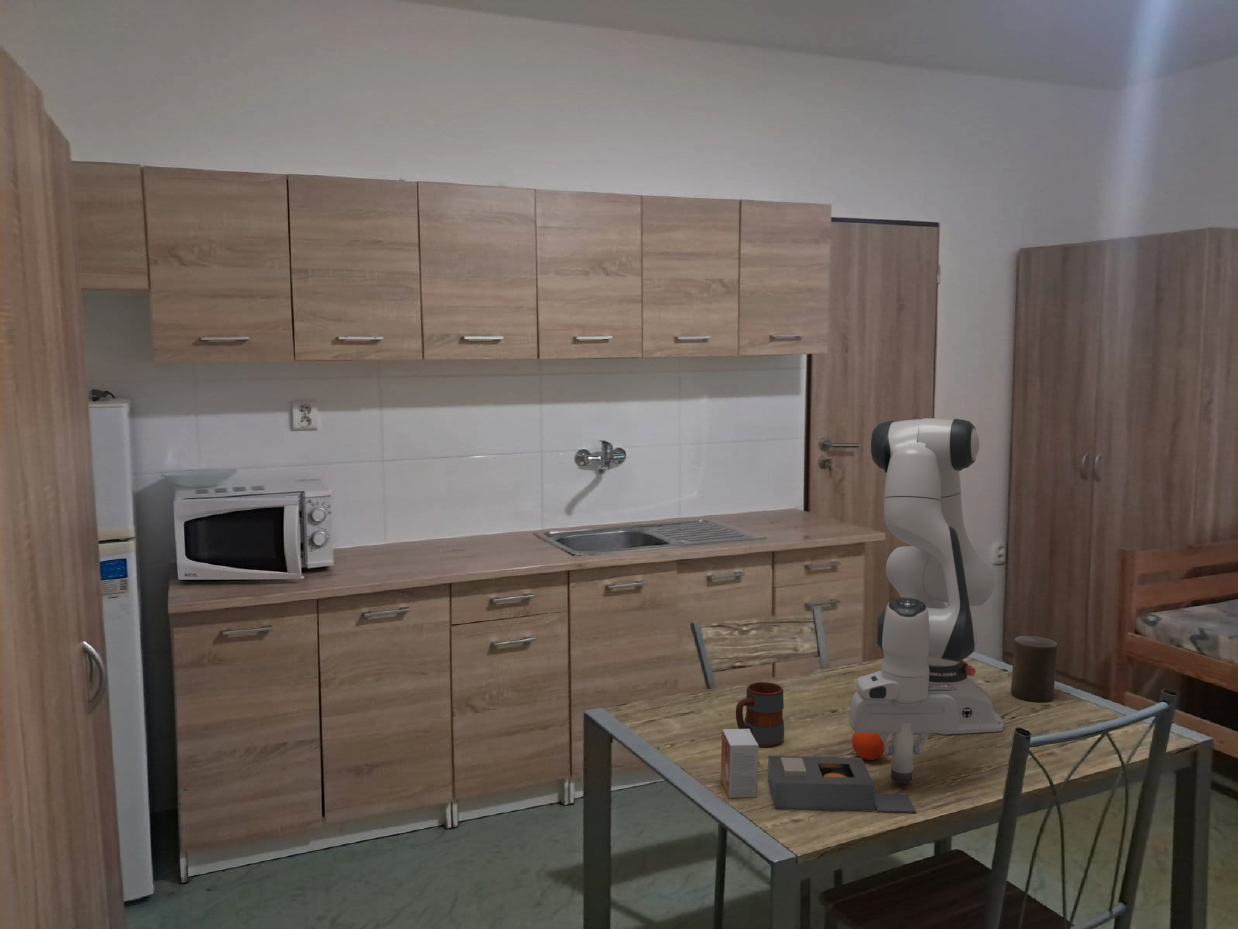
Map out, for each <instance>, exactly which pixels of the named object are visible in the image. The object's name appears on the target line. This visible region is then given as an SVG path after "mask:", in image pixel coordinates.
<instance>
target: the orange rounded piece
mask: <svg viewBox="0 0 1238 929" xmlns="http://www.w3.org/2000/svg"><path fill="white" fill-rule="evenodd" d="M824 777H846V776H845V775H842V774H839V773H828V774H825V775H824Z"/></svg>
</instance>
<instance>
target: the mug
mask: <svg viewBox="0 0 1238 929" xmlns="http://www.w3.org/2000/svg"><path fill="white" fill-rule="evenodd" d="M745 695H746V697H745V698H743V699H740V700H739V701H738V702H737V704H736V707H735V719H736V724H737V729H750V731H751V733H752V735H753V737H754V739H755V740H756V742H757V743H758V745H759V748H760V747H762V748H771V747H777V746H779V745H781V743H782V742H783V740H784V739H785V720H784V718H783V716H784V715H783V712H784V711H783V710H784V709H785V708H784V705H785V704H784V701H785V700H784V689H783V687H782V686H781V685H780V684H777V683H774V682H769V681H768V682H767V681H766V682H765V681H758V682H752V683H751V684H749V685H747V687H746V694H745ZM744 707H746V710H745V717H744V713H743V712H744Z"/></svg>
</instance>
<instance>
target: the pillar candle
mask: <svg viewBox="0 0 1238 929" xmlns="http://www.w3.org/2000/svg"><path fill="white" fill-rule="evenodd" d="M1057 655H1058V643H1057V642H1056V641H1055V640H1053V639H1051V638H1050V639H1049V638H1044V637H1041V636H1036V635H1033V636H1031V635H1020V636H1017V637H1015V638H1014V645H1013V655H1012V656H1013V658H1012V659H1013V661H1012V670H1011V672H1012V673H1011V683H1010V685H1011V686H1010V692H1011V694H1012V695H1013V696H1014V698H1017V699H1020V700H1023V701H1028V702H1033V703H1040V704H1041V703H1046V702H1047V703H1048V702H1051V701H1054V697H1055V696H1054V695H1055V681H1056V668H1057Z"/></svg>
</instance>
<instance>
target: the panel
mask: <svg viewBox="0 0 1238 929" xmlns="http://www.w3.org/2000/svg"><path fill="white" fill-rule="evenodd" d="M767 756H768V757H767V758H768V759H767V783H768V787H769V790H770V794H771V798H772V803H773V806H774V809H775V810H806V811H807V810H809V811H812V810H814V811H849V812H850V811H853V812H854V811H855V812H857V811H858V812H860V811H861V812H875V807H874V798H875V792H876V791H875V790H876V784H875V782H874V780H873V778H872V776H871V774H870V772H869V769H868V768H867V766H866V764H865V762H864V759H863V758H861V757H844V756H842V757H841V756H838V757H837V756H836V757H835V756H801V755H800V756H796V755H795V756H792V755H791V756H789V755H767ZM828 773H839V774H842V775H845V776H846V777H824V775H825V774H828Z"/></svg>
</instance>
